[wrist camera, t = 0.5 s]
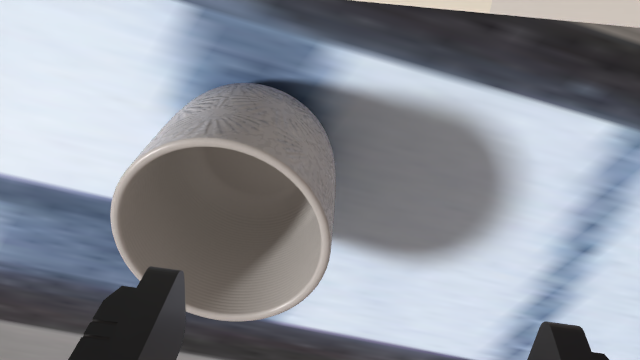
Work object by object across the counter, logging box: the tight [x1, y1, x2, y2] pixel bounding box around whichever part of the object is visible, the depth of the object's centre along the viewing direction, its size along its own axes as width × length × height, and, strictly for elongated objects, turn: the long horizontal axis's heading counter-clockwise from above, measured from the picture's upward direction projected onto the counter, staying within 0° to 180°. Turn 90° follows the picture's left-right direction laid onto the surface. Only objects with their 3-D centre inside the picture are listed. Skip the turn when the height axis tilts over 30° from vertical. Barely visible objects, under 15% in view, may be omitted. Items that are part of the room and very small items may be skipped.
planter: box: [111, 83, 336, 321], centre depth 38 cm, size 12×12×11 cm
